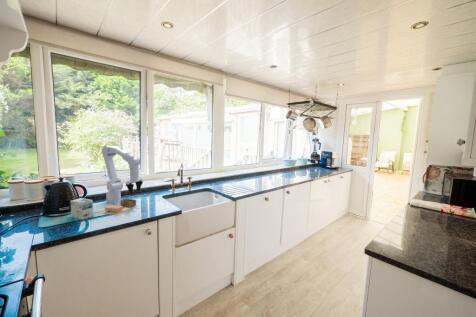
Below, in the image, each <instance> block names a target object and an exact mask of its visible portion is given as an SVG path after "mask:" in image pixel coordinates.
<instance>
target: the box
mask: <svg viewBox="0 0 476 317" xmlns="http://www.w3.org/2000/svg"><path fill="white" fill-rule="evenodd" d="M119 203H120V205H119V206H123V207H128V208H134V207H135V206H137V199H134V198H124V199H121V201H120V202H119Z"/></svg>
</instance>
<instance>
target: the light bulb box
mask: <svg viewBox="0 0 476 317" xmlns="http://www.w3.org/2000/svg"><path fill="white" fill-rule="evenodd" d="M93 204H94V202H93V199H88V198H84V197H83V198H82V197H80V198H76V199H72V200H70V217H71V218H73V217H74V219H79V220H85V219H89V218H91V216H92V217H94V205H93ZM88 217H89V218H88Z"/></svg>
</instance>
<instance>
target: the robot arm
mask: <svg viewBox="0 0 476 317" xmlns="http://www.w3.org/2000/svg"><path fill="white" fill-rule="evenodd" d="M101 154H102V157H103V159H104V164H105V167H106V171H107V175H108V180H107V181H106V189H107V191H106V194H105V195H106V196H105V198H106V200H105V202H104V203H105V204H107V203H108V204H114V205H116V204H119V203H120V201H121V200H122V197H121V193H122V192H121V191H122V189H123V188H124V184H123V182H122V180H121V179H120V178H119V177H118V175H117V172H116V167H115V164H114V159H113V158H114V157H116V155H118V156H120V157H121V158H122V160H123V161H124V162H127V164H128V168H129V180H127V181H125V187H127V190H128V193H129V194H133V193H134V186H135V188H136V191H137V192H140V191H141V188H142V185H143V183H144V181H143V177H140V169H139V168H140V167H139V165H140V164H141V159H140V157H138V156H136V157H135V156H134V155H132V154H131V153H130V152H125V151H123V149H121V148H120V147H119V146H117V145H104V146H102V148H101ZM134 183H135V184H134Z"/></svg>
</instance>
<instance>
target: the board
mask: <svg viewBox="0 0 476 317" xmlns="http://www.w3.org/2000/svg"><path fill="white" fill-rule="evenodd" d="M134 209H135V208H134V207H125V206H123V209H122V210H120V211H118V212H112V211H108V210H105V208H102V209H100V210H97V211H95V212H94V213H96V214H103V215H112V216H120V215H123V214H124V213H127V212H129V211H131V210H134Z"/></svg>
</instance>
